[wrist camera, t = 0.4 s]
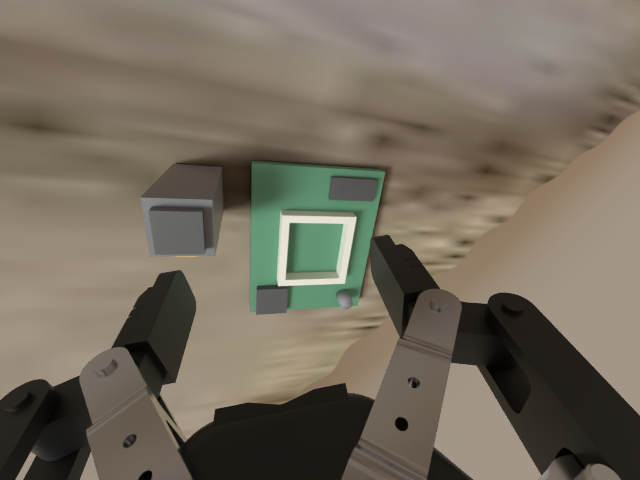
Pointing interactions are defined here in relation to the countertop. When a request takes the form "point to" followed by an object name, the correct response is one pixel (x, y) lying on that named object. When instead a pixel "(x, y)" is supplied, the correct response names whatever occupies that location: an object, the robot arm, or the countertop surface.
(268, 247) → the mount board
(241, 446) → the robot arm
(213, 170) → the plug
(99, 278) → the countertop surface
